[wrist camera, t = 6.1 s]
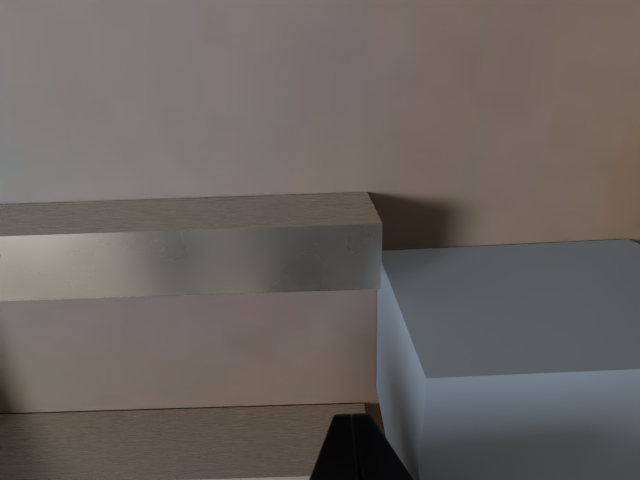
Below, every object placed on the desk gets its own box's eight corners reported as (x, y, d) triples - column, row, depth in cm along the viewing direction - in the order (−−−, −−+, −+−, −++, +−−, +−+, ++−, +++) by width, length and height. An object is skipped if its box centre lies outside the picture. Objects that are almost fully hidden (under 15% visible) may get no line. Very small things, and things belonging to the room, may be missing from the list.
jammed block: (629, 238, 10) (880, 359, 6) (589, 380, 12) (754, 556, 8) (377, 251, 10) (425, 377, 6) (376, 389, 12) (411, 568, 8)
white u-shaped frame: (367, 192, 10) (382, 223, 8) (363, 436, 13) (373, 510, 11) (-215, 211, 10) (-376, 248, 8) (-74, 449, 13) (-157, 525, 11)
